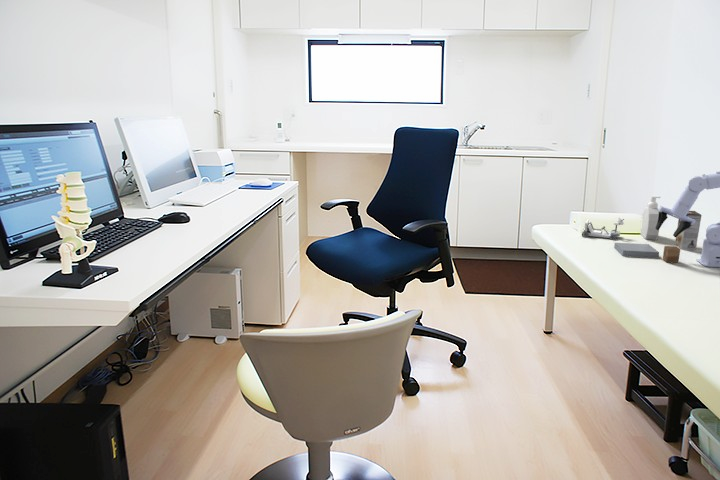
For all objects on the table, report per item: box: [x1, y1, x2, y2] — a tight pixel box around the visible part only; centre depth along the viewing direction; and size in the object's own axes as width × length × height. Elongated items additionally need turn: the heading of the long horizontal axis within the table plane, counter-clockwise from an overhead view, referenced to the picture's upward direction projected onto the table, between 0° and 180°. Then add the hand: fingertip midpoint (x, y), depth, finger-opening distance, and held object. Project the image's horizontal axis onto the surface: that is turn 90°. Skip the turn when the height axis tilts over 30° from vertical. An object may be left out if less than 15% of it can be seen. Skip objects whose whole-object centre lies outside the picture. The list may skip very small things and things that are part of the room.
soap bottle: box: [640, 195, 661, 241], centre depth 269 cm, size 16×5×20 cm, turn 165°
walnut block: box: [662, 245, 681, 264], centre depth 229 cm, size 4×4×6 cm
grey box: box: [613, 242, 660, 259], centre depth 242 cm, size 14×14×3 cm
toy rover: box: [581, 217, 625, 241], centre depth 272 cm, size 18×10×12 cm
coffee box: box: [674, 210, 702, 251], centre depth 251 cm, size 9×6×16 cm
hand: (665, 232), depth 233 cm, fingers open, 7 cm apart
